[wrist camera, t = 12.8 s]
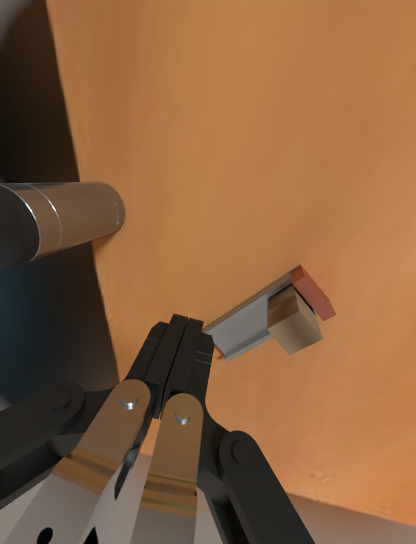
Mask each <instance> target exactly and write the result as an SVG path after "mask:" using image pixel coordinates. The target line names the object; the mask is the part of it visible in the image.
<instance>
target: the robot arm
mask: <svg viewBox="0 0 416 544" xmlns="http://www.w3.org/2000/svg"><path fill="white" fill-rule="evenodd" d="M124 216H125V211H124V206H123V202H122V200H121V198H120V196H119V195H118V193H117V192H116V191H115V190H114V189H113V188H112V187H110V186H109V185H107V184H104V183H99V182H87V183H82V182H81V183H23V184H22V183H21V184H20V183H18V184H0V268H10V267H13V266H17V265H20V264H23V263H26V262H29V261H31V260H35V259H38V258H40V257H44V256H47V255H49V254H52V253H55V252H58V251H61V250H64V249H67V248H70V247H73V246H76V245H79V244H82V243H85V242H88V241H91V240H94V239H97V238H100V237H103V236H106V235H109V234H112V233H114V232H116V231H118V230H119V229H120V227H121V226H122V224H123V221H124ZM203 323H204V321H200V320H196V319H193V318H189V320H188V317H185V316H181V315H177V314H173V316H172V318H171V320H170V323H169V324H168V323H164V322H159V323H157V324H156V325H155V326H154V327H152V329H151V330H150V332H149V334H148V336H147V339H146V340H145V342H144V344H143V346H142V348H141V350H140V351H139V353H138V355H137V357H136V359H135V361H134V363H133V365H132V367H131V369H130V371H129V373H128V374H127V376H126V378H125V379H124V380H123V381H122V382H121V383H119V384H118V385H117V386H115V387H113V388H111V389H108V390H103V391H87V392H83V389H82V388H81V387H80V386H79V385H78V384H76V383H72V382H64V383H59V384H56V385H54V386H52V387H50V388H48V389H46V390H44V391H42V392H39V393H37V394H35V395H33V396H31V397H29V398H27V399H25V400H23V401H21V402H19V403H17V404H14V405H12V406H10V407H8V408H6V409H4V410H2V411H0V510H1V509H2V508H4V507H5V506H7V505H8V504H9V503H11V502H12V501H14V500H15V499H17V498H18V497H20V496H21V495H22V494H24V493H25V492H27V491H28V490H30V489H31V488H32V487H34V486H35V485H37V484H38V483H40V482H41V481H43V480H44V479H46V478H47V479H46V480H45V482H44V483H43V485H42V486H41V488H40V489H39V491H38V492H37V494H36V496H35V497H34V498H33V500H32V501H31V503H30V504H29V506H28V507H27V509H26V510H25V512H24V513H23V515H22V516H21V518H20V519H19V521H18V522H17V524H16V525H15V527H14V528H13V530H12V531H11V533H10V534H9V536H8V537H7V539H6V540H5V542H4V543H3V544H103V542H104V540H105V537H106V535H107V532H108V530H109V528H110V525H111V522H112V519H113V517H114V514H115V510H116V507H117V504H118V501H119V499H120V496H121V493H122V492H123V489H124V487H125V485H126V482H127V480H128V478H129V475H130V473H131V470H132V468H133V466H134V463H135V461H136V459H137V456H138V454H139V452H140V449H141V447H142V445H143V442H144V440H145V437H146V435H147V432H148V429H149V427H150V424H151V421H152V418H155V419H159V415H160V412H161V416H160V420H161V423H160V427H159V431H158V435H157V439H156V443H155V447H154V451H153V456H152V460H151V464H150V468H149V472H148V476H147V480H146V483H145V486H144V490H143V494H142V498H141V501H140V505H139V509H138V513H137V518H136V521H135V526H134V529H133V533H132V538H131V542H130V544H194V536H195V524H196V513H197V493H196V486H197V487H198V488H200V489H201V490H202V491H203V492H204V494H205V497H206V500H207V503H208V505H209V508H210V510H211V513H212V516H213V518H214V521H215V524H216V526H217V529H218V532H219V534H220V537H221V540H222V542H223V544H315V543H314V541H313V539H312V537H311V536H310V534H309V532H308V531H307V529H306V527H305V526H304V524H303V522H302V520H301V519H300V517H299V515H298V513H297V512H296V510H295V508H294V507H293V505H292V503H291V501H290V500H289V498H288V496H287V494H286V493H285V491H284V489H283V488H282V486H281V484H280V482H279V481H278V479H277V477H276V476H275V474H274V472H273V470H272V469H271V467H270V465H269V463H268V462H267V460H266V458H265V457H264V455H263V453H262V451H261V450H260V448H259V446H258V445H257V443H256V442H255V440H254V439H253V438H252V437H251V436H250V435H248V434H247V433H245V432H243V431H231V432H229V431H227V430H226V429H225V428H223V427H222V426H220V425H219V424H218V423H216V422H215V421H214V420H213V419H212V418H211V416H210V415H209V413H208V411H207V409H206V405H205V396H206V390H207V385H208V379H209V373H210V368H211V362H212V356H213V351H214V341H213V338H212V335H209V334H205V333H202V332H201V331H202V327H203ZM161 409H162V410H161Z"/></svg>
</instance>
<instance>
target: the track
mask: <svg viewBox="0 0 416 544" xmlns="http://www.w3.org/2000/svg"><path fill="white" fill-rule="evenodd" d="M292 283H293V285H294V286H295V287H296V289H297V290H298V291H299V292H300V293H301V295H302V296H303V297H304V298H305V299H306V301H307V302H308V303H309V304H310V305H311V307H312V308H313V310H314V313H315V314H318V315H319V316H320V317H321V319H322V320H323V321H325V320H327V319H329V318H331V317H333V316H335V315H336V313H335V311H334V309H333V307H332V305H331V303H330V301H329V299H328V298H327V296H326V295H325V294H324V293H323V291H322V290H321V289H320V288H319V287H318V285H317V284H316V283H315V282H314V280H313V279H312V278H311V277H310V275H309V274H308V273H307V272H306V271H305V269H304V268H303V267H302V266H301V265H299V266H298V267H296V268H295V269H293V270H292V271H290V272H289V273H287V274H286V275H284V276H282V277H281V278H279V279H278V280H276V281H275V282H273V283H272V284H270V285H269V286H267V287H266V288H264V289H263V290H261V291H260V292H258V293H256V294H255V295H253V296H252V297H250V298H249V299H247V300H246V301H244V302H243V303H241V304H240V305H238V306H237V307H235V308H234V309H232V310H231V311H229V312H227V313H226V314H224V315H223V316H221V317H220V318H218V319H217V320H215V321H214V322H212V323H211V324H209V325H208V326H206V327H205V328H204V330H203V333H205V334H209V335H212V338H213V341H214V343H215V345H216V346H217V347H218V348H219V349H220V350H221V351H222V352H223V353H224V354H225V357H224V360H225V361H226V362H227V361H229V360H231V359H233V358H235V357H237V356H239V355H240V354H242V353H244V352H246V351H248V350H250V349H252V348H253V347H255V346H257V345H259V344H261V343H263V342H265V341H266V340H268V339H270V338H272V337H273V336H272V334H271V333H270V332H269V331H268V330H267V305H268V298H269V297H271V296H272V295H274V294H276V293H277V292H279V291H280V290H282V289H284V288H285V287H287V286H288V285H290V284H292Z"/></svg>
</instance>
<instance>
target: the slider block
mask: <svg viewBox="0 0 416 544" xmlns="http://www.w3.org/2000/svg"><path fill="white" fill-rule="evenodd" d="M267 330H268V331H269V332H270V333H271V334H272V336H273V337H274V338H275V339H276V340H277V341H278V342H279V344H280V345H281V346H282V347H283V348H284V349H285V350H286V352H287V353H288V354H289V355H291V354H293V353H295V352H297V351H299V350H301V349H303V348H305V347H307V346H310V345H312V344H314V343H316V342H318V341H320V340H322V339H323V338H322V335H321V332H320V329H319V326H318V323H317V319H316V316H315V313H314V310H313V308H312V307H311V305H310V304H309V303H308V302H307V301H306V299H305V298H304V297H303V296H302V295H301V293H300V292H299V291H298V290H297V289H296V287H295V286H294V285H293V283H292V284H290V285H288V286H287V287H285V288H284V289H282V290H280V291H279V292H277V293H276V294H274V295H272V296H271V297H269V298H268V305H267Z"/></svg>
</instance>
